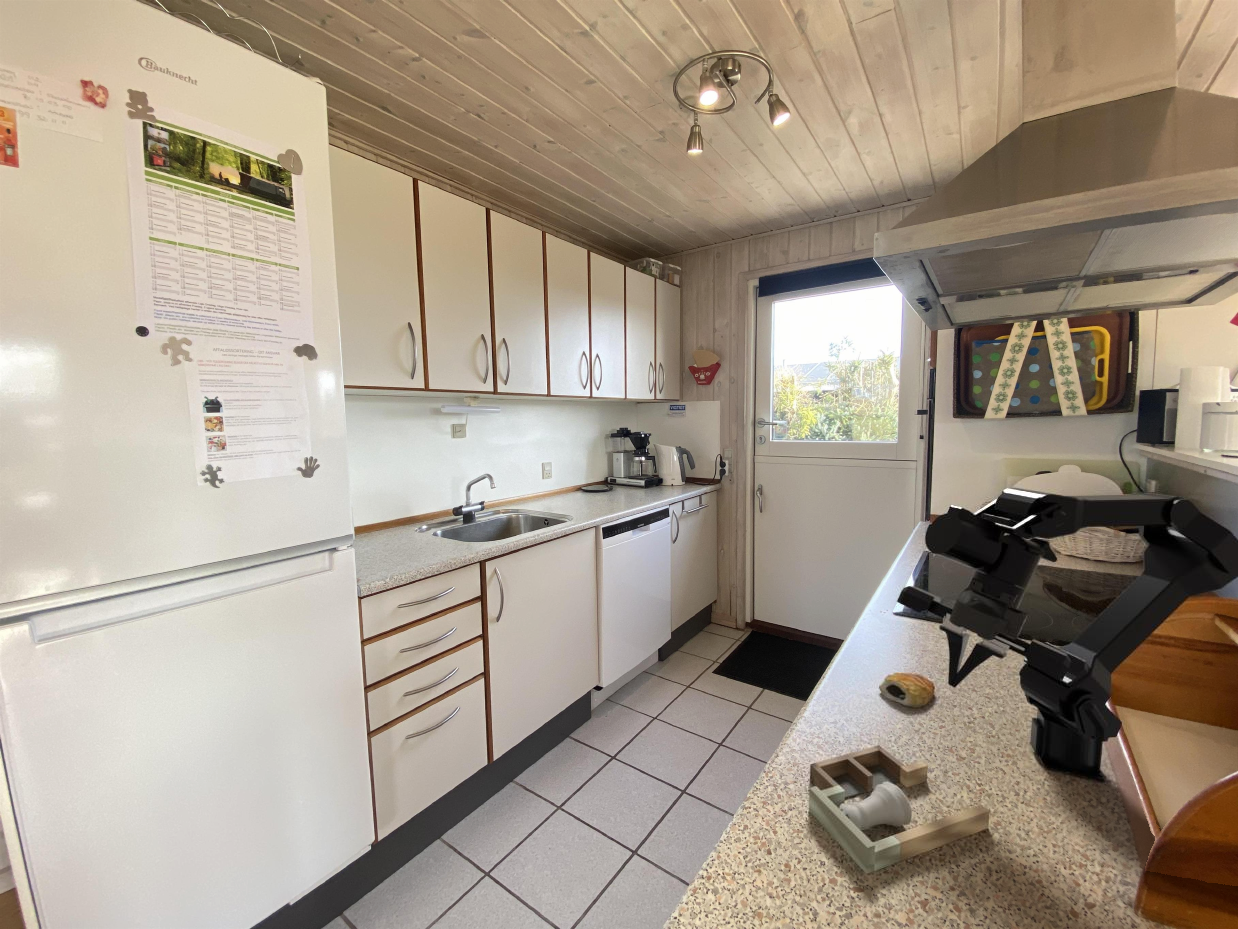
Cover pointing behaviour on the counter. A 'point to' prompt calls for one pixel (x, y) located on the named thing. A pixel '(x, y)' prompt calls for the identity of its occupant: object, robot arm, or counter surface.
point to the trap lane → (863, 776)
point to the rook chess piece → (880, 808)
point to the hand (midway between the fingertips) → (951, 685)
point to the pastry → (907, 689)
